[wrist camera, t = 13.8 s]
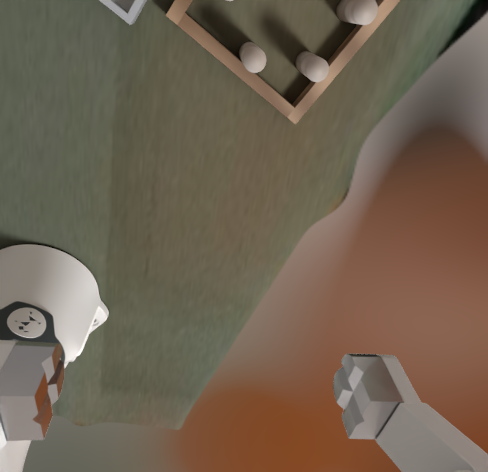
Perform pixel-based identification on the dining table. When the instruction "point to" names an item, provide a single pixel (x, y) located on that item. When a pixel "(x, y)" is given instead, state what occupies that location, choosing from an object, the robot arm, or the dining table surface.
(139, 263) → the dining table surface
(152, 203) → the dining table surface
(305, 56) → the wooden peg board
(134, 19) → the tray
